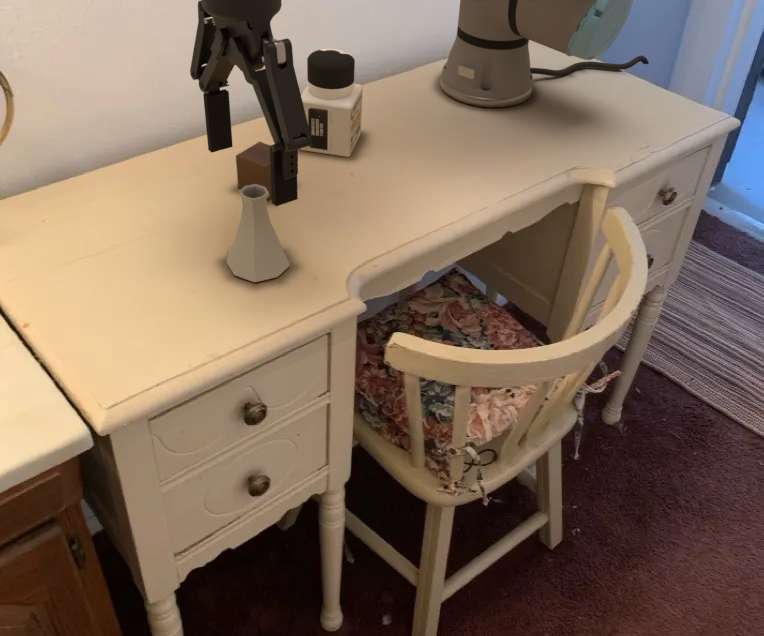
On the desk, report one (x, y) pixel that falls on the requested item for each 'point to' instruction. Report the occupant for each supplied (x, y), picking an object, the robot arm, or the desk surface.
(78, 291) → the desk surface
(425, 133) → the desk surface
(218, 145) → the robot arm
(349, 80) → the container
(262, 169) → the walnut block
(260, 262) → the flask
